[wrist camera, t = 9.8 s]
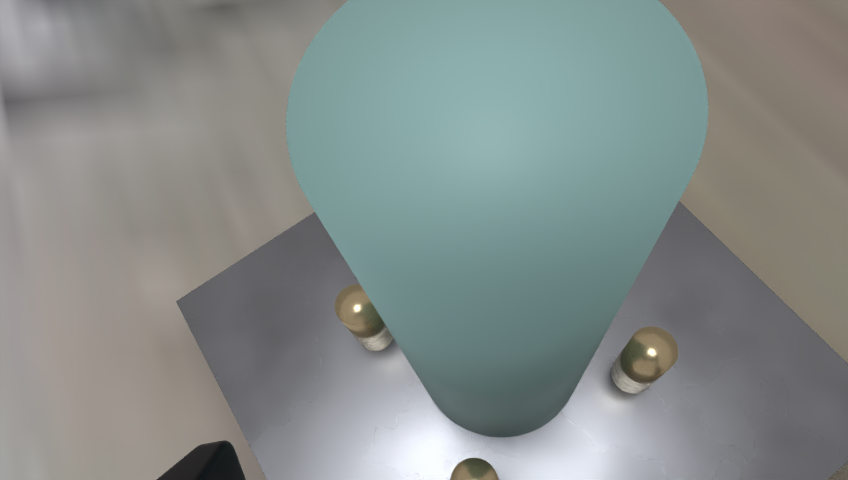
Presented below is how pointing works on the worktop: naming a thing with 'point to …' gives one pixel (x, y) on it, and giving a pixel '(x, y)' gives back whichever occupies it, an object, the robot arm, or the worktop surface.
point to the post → (497, 180)
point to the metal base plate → (584, 412)
